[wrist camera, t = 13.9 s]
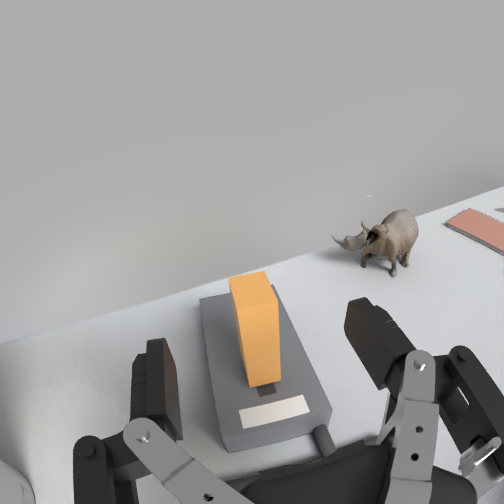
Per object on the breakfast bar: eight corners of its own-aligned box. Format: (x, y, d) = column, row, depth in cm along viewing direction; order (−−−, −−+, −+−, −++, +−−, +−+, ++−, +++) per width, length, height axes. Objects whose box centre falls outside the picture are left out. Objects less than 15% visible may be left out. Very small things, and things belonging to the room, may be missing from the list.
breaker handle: (249, 387, 26) (236, 309, 21) (241, 357, 29) (228, 278, 24) (280, 380, 26) (277, 300, 21) (270, 350, 30) (264, 271, 25)
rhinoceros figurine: (441, 249, 46) (416, 188, 39) (394, 306, 47) (358, 254, 40) (413, 234, 53) (383, 177, 45) (368, 285, 54) (329, 235, 46)
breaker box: (228, 453, 24) (221, 437, 22) (204, 320, 41) (199, 298, 39) (327, 427, 25) (332, 409, 23) (274, 306, 42) (273, 283, 40)
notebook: (549, 253, 44) (551, 246, 43) (540, 280, 37) (543, 272, 36) (469, 212, 65) (470, 205, 64) (445, 228, 58) (446, 221, 57)
